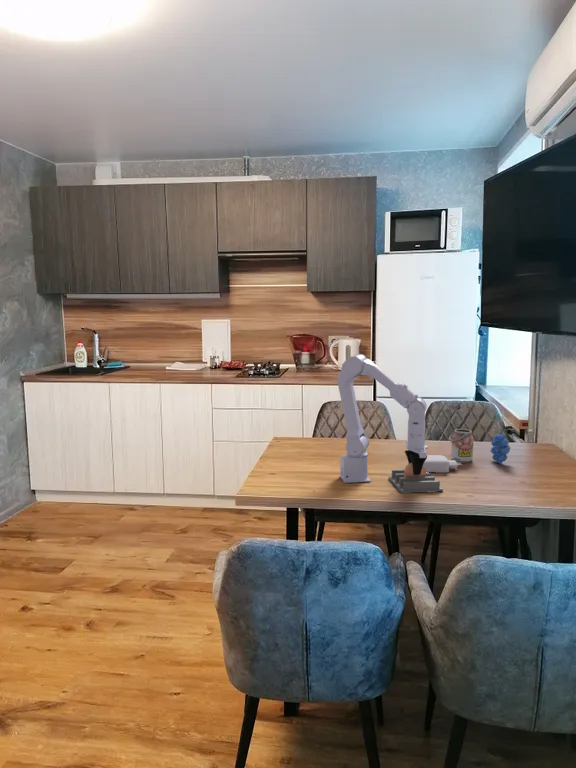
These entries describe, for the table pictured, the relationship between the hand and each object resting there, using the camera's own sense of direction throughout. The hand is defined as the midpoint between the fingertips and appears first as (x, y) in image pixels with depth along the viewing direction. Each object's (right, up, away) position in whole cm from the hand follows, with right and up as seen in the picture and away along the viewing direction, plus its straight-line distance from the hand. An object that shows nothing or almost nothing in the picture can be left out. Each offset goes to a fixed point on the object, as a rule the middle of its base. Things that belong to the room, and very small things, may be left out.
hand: (415, 472), depth 188 cm
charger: (+14, -2, +19) cm, 23 cm away
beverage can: (+25, 0, +30) cm, 39 cm away
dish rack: (0, -4, +1) cm, 4 cm away
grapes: (+39, -1, +26) cm, 47 cm away
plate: (0, -3, 0) cm, 3 cm away
